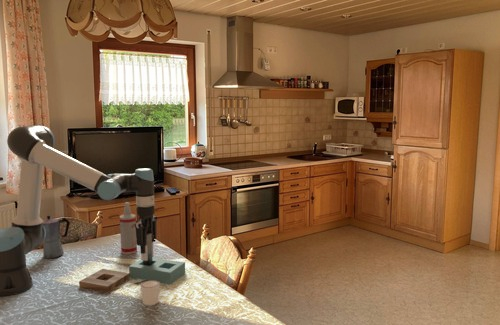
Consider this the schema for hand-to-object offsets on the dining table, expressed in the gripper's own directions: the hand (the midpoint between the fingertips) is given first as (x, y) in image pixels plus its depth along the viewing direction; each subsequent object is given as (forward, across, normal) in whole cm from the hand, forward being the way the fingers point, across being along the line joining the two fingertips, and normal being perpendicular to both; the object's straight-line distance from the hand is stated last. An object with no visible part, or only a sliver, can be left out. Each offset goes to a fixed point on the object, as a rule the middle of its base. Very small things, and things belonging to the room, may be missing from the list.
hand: (147, 258), depth 181 cm
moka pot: (+7, +4, +56) cm, 57 cm away
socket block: (+7, -14, +11) cm, 19 cm away
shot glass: (+7, -22, -16) cm, 28 cm away
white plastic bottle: (+7, +21, +25) cm, 34 cm away
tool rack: (+7, 0, -5) cm, 9 cm away
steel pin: (+5, 0, 0) cm, 5 cm away
